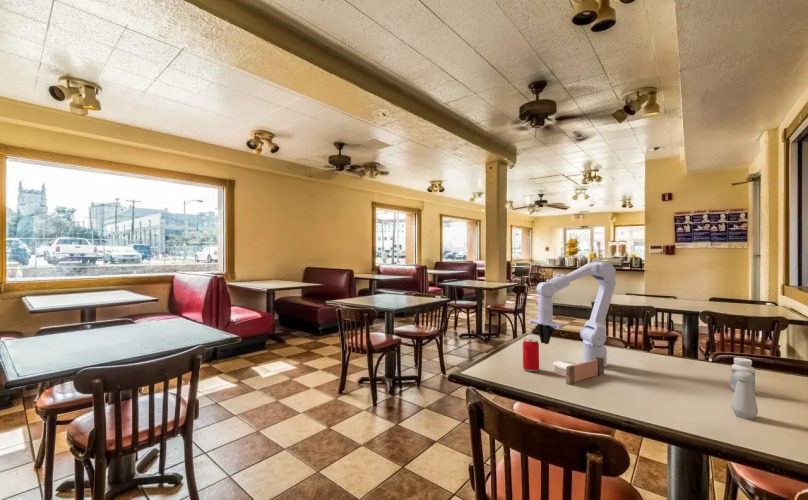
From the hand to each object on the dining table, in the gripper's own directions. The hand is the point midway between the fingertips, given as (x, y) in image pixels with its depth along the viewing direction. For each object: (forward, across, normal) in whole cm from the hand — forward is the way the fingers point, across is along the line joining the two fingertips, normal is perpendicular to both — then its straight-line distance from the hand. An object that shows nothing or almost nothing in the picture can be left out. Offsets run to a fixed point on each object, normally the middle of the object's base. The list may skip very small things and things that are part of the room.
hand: (545, 343), depth 150 cm
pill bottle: (+10, +53, +36) cm, 65 cm away
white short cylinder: (+10, +10, 0) cm, 14 cm away
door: (+9, +17, 0) cm, 20 cm away
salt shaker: (+10, +60, +11) cm, 62 cm away
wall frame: (+9, +18, 0) cm, 20 cm away
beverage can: (+10, +1, -10) cm, 14 cm away
